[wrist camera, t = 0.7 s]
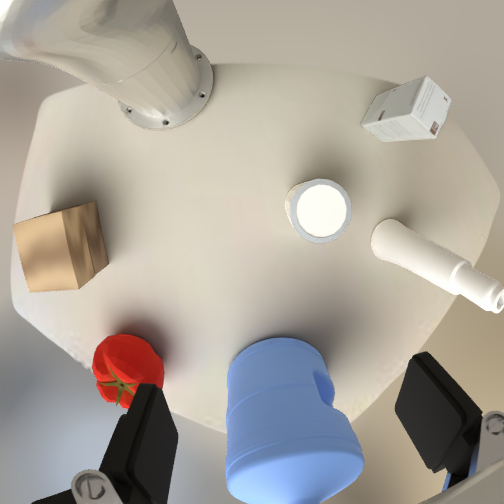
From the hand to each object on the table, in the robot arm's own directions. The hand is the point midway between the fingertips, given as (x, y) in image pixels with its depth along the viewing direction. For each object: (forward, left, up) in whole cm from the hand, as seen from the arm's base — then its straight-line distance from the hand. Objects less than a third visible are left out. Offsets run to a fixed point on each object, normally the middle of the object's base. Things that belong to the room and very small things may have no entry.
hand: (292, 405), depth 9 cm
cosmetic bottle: (+3, +19, -28) cm, 34 cm away
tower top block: (-3, -25, -24) cm, 34 cm away
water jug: (+23, +1, -28) cm, 36 cm away
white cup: (-3, +7, -28) cm, 29 cm away
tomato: (+17, -21, -28) cm, 39 cm away
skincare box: (-14, +19, -28) cm, 37 cm away
